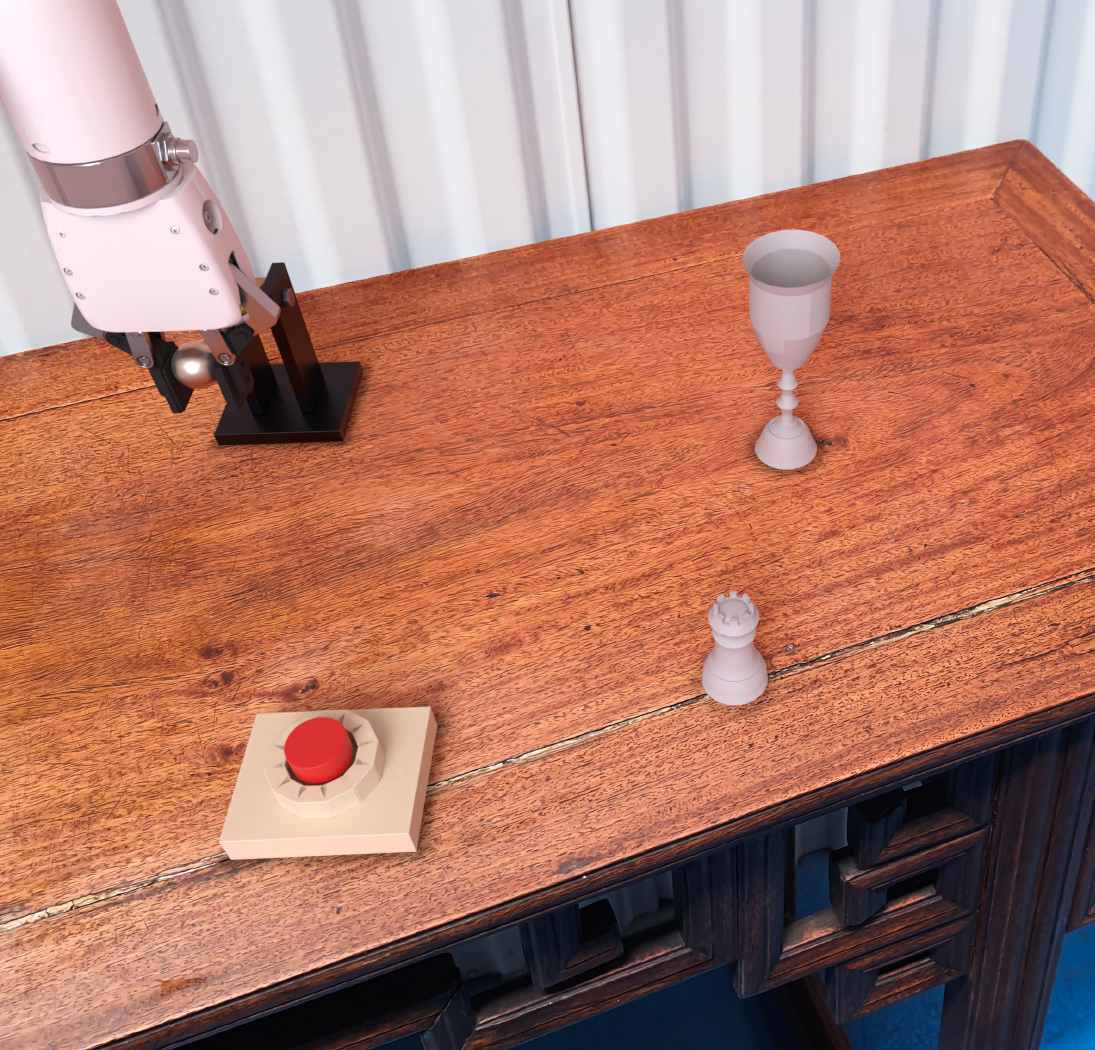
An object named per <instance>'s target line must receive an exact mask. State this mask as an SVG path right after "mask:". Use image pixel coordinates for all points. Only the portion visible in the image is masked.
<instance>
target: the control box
mask: <svg viewBox="0 0 1095 1050" xmlns="http://www.w3.org/2000/svg"><path fill="white" fill-rule="evenodd" d="M318 717H328V718H332V719H335V720H337V721H339V722H340V723H341V724H342V725H343V726H344V728H345V729H346V732H347V734H348V736H349V738H350V741H351V743H352V745H353V749H354V754H353V758H352V761H351V763H350V765H349V767H348V768H347V769H346V770H345V771H344V772H343V773H342V774H341V775H340V776H338V777H337V778H335V779H333V780H331V781H329V782H325V783H321V784H311V783H306V782H304V781H302V780H300V779H299V778H297V777H296V775H295V774H294V772H293V770H292V768H291V766H290V765H289V763H288V761H287V759H286V757H285V754H284V746H285V742H286V739H287V737H288V736H289V734H290V733H291V732H292V731H293V730H294V729H295V728H296V727H297V726H298V725H300V724H301V723H303V722H305V721H307V720H310V719H313V718H318ZM437 731H438V723H437V721H436V718H435V715H434V712H433V709H432V706H407V707H406V706H405V707H382V708H380V707H379V708H360V709H359V708H358V709H357V708H356V709H346V708H345V709H321V710H308V711H307V710H306V711H284V712H283V711H282V712H281V711H280V712H279V711H278V712H258V713H256V714H255V717H254V720H253V725H252V727H251V731H250V734H249V737H248V741H247V745H246V748H245V752H244V755H243V759H242V761H241V764H240V768H239V772H238V774H237V775H238V776H237V778H236V782H235V785H234V789H233V792H232V796H231V799H230V803H229V806H228V809H227V812H226V815H225V820H224V823H223V825H222V830H221V832H220V837H219V840H218V843H219V844H220V846H221V847H222V849H223V851H224V852H225V854H226V855H227V857H228V858H229V859H230V860H231V861H233V860H234V861H235V860H236V861H237V860H257V859H258V860H259V859H279V858H281V859H283V858H302V857H303V858H304V857H324V856H325V857H326V856H327V857H328V856H350V855H369V854H370V855H371V854H372V855H373V854H392V853H416V852H417V851H418V845H419V838H420V833H421V827H422V822H423V815H424V809H425V803H426V797H427V790H428V784H429V779H430V772H431V766H432V761H433V755H434V748H435V742H436V736H437Z"/></svg>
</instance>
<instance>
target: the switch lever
mask: <svg viewBox="0 0 1095 1050" xmlns="http://www.w3.org/2000/svg"><path fill="white" fill-rule="evenodd" d="M265 279H266V276H265V277H264V276H261V277H259V276H258V277H255V280H256V286H258V287H259V288H260V289H261V288H262V286H263V283H264V281H265ZM239 307H240V310H241V315H242V314H244V313H248V312H247V311H246V310H244V309H243V308H242V307H241V306H239ZM215 360H216V359H215V357H214V355H213V353H212V352H211V350H210V348H209V347H208V345H207V343H206V342H205V340H204V339H203V340H202V341H191V342H187V343H185V344H182V345H181V346H179V348H178V349H177V350H176V352H175V353H174V355H173V357H172V361H171V368H172V372H173V374H174V376H175V377H176V379H177V380H178V381H179V382H180V383H181V384H183V385H185V386H186V387H189V388H192V389H194V390H204V389H209V388H211V387H212V386H215V384H217V380H216V378H215V376H214V373H213V370H212V368H213V365H214V363H215Z"/></svg>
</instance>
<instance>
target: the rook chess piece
mask: <svg viewBox="0 0 1095 1050" xmlns="http://www.w3.org/2000/svg"><path fill="white" fill-rule="evenodd" d="M759 621H760V611H759V609H758V607H757V606H756V604H755V603H753V602H752V601H751V597H750V596H749V595H747V593H743V594H742V595H741V596H740V595H738V590H729V595H728V596H725V595H724V593H721V594H720V595H718V596H717V597H716V601H715V602H714V603H713V604H712V605H711V606H710V608H709V610H708V612H707V622H708V623H709V626H710V627H711V635H712V637H713V640H714V646H713V648H711V650H710V651H709V653H708V654H707V656H706V657H705V659H704V661H703V664H702V672H701V685H702V688H703V689H704V691H705V693H706V694H707V695H708V696H709V697H710V698H712V699H713V700H714V701H715V702H718V703H721V704H723V705H726V706H743V705H746V704H749V703H751V702H754V701H755V700H757V699H758V698H759V697H760V696H761V695H762V694H763V693H764V691H765V690H766V688H767V686H768V682H769V681H768V680H769V679H768V677H769V676H768V671H767V670H768V669H767V663H766V661H765V659H764V657H763V656H762V653H761V652H760V651H759V650H758V648H757V647H756V646H755V643H754V638H755V637H756V633H757V625H758V624H759Z"/></svg>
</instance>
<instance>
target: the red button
mask: <svg viewBox="0 0 1095 1050" xmlns="http://www.w3.org/2000/svg"><path fill="white" fill-rule="evenodd" d="M284 754H285V757H286V759H287V761H288V763H289V765H290V766H291V768H292V770H293V772H294V774H295V775H296V777H297V778H299V779H300V780H302V781H304V782H306V783H311V784H321V783H325V782H329V781H331V780H333V779H335V778H337V777H338V776H340V775H341V774H342V773H343V772H344V771H345V770H346V769H347V768H348V767H349V765H350V763H351V761H352V758H353V754H354V749H353V745H352V743H351V741H350V738H349V736H348V734H347V732H346V729H345V728H344V726H343V725H342V724H341V723H340V722H339V721H337V720H335V719H332V718H328V717H318V718H313V719H310V720H307V721H305V722H303V723H301V724H300V725H298V726H297V727H296V728H295V729H294V730H293V731H292V732H291V733H290V734H289V736H288V737H287V739H286V742H285V746H284Z"/></svg>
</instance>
